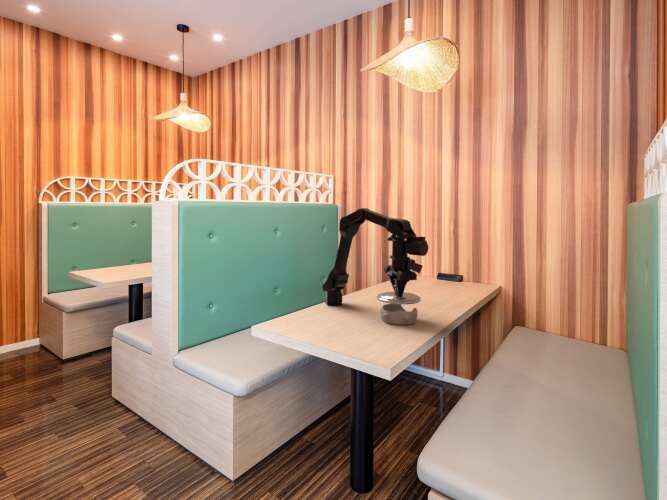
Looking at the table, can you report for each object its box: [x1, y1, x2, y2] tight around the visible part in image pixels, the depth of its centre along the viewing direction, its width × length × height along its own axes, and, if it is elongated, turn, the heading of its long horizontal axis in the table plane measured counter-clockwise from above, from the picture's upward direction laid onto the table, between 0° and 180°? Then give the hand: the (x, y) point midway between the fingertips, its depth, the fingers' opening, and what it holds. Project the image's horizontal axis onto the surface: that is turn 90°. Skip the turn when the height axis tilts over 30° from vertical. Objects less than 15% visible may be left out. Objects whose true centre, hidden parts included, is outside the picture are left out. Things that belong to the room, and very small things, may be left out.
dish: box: [380, 303, 418, 326], centre depth 141 cm, size 14×14×5 cm
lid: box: [376, 284, 422, 305], centre depth 140 cm, size 16×16×5 cm
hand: (398, 294), depth 140 cm, fingers closed on lid, 3 cm apart
